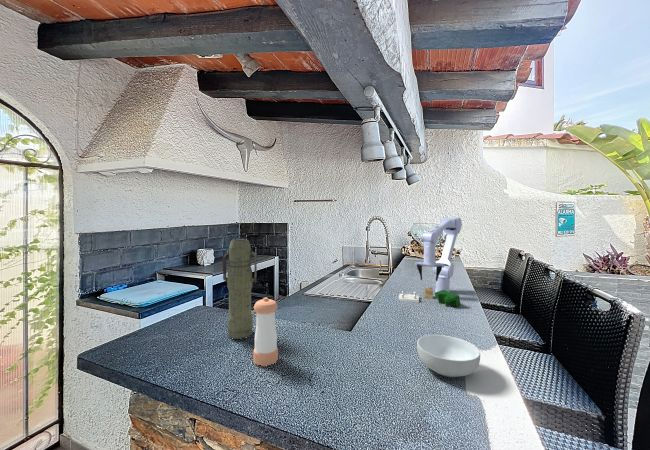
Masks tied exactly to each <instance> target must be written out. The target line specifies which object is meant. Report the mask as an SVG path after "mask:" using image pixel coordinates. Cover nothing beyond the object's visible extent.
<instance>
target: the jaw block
mask: <svg viewBox="0 0 650 450" xmlns="http://www.w3.org/2000/svg"><path fill="white" fill-rule="evenodd" d="M424 299H429V300H433V299H434V289H433V287H428V286H427V287H426V286H425V287H424Z"/></svg>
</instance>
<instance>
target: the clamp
mask: <svg viewBox="0 0 650 450" xmlns="http://www.w3.org/2000/svg"><path fill="white" fill-rule="evenodd" d="M434 295H435V297H436V298H437V300H438V301H437V302H438V304H442V303H444V305H445V307H449V306H453V307H454V308H457V307H460V306H461V300H460V295H458V294H456V293H453V292H451V291H450V292H448V291H446V290H441V291H438V292H436V293H435V292H434Z"/></svg>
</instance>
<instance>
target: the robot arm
mask: <svg viewBox="0 0 650 450" xmlns="http://www.w3.org/2000/svg"><path fill="white" fill-rule="evenodd" d="M462 226H463V223H462V218H461V217H459V216H458V217H443V218H441V221H440V223H439V224H438V225H434V226H433V227H432V228H431V229H430V230H428V231H424V233H422V236H421V240H422V245H423V261H415V262H414V267H416V268H417V270H418V273H419V277H420V281H423V272H422V271H423V267H432V274H433V275H434V277H435V288H434V289H433V291H434V294H435V293H436V292H438V291H441V290H446V291H448V292H451V291H450V282H451V281H450V280H451V278H452V277H453V275H454V269H455V266H454V263H452V262H451V260H452V255H453V252H454V248H455V244H456V241H457V237H458V234H459V235H460V233H461V230H462ZM444 233H445V234H447V235H446V239H445V243H444V246H443V250H442V252H441V253H442V254H441V257H440V258H439V259H438V260H437V261H436V244H437V243H438V240H439V238H440V236H441V235H443V234H444Z"/></svg>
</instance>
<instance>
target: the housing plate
mask: <svg viewBox="0 0 650 450" xmlns="http://www.w3.org/2000/svg"><path fill="white" fill-rule="evenodd" d="M398 302H406V303H407V302H409V303H420V295H419V294H417V292H416V291H413V294H411V293H405V290H402V291H401V293H399V295H398Z"/></svg>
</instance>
